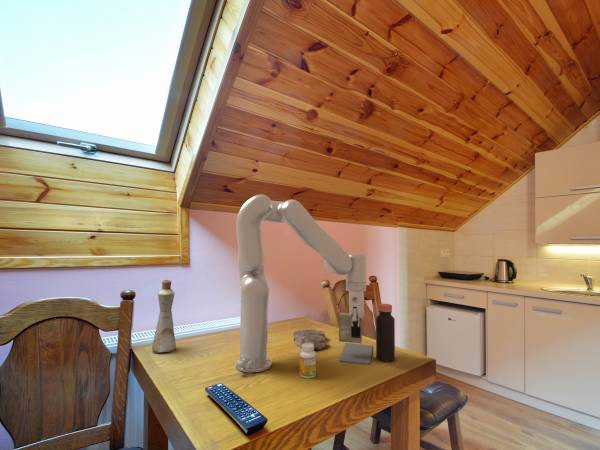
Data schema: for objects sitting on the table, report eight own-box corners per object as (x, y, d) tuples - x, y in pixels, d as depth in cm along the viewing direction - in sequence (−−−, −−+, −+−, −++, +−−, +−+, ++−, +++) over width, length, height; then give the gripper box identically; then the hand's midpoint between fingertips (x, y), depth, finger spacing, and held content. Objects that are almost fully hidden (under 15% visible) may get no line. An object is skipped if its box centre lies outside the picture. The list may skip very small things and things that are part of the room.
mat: (370, 365, 110) (370, 363, 110) (339, 361, 113) (339, 360, 113) (372, 346, 130) (372, 345, 130) (345, 344, 133) (345, 342, 133)
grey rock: (330, 352, 123) (323, 336, 143) (330, 340, 124) (323, 325, 144) (294, 354, 123) (293, 337, 143) (294, 341, 123) (292, 326, 143)
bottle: (151, 355, 117) (153, 281, 119) (152, 348, 126) (154, 278, 127) (176, 352, 121) (178, 280, 122) (175, 345, 129) (177, 277, 131)
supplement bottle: (299, 371, 105) (299, 342, 105) (315, 371, 105) (315, 342, 105) (299, 378, 99) (299, 347, 100) (316, 378, 99) (316, 347, 100)
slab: (360, 343, 115) (360, 315, 115) (339, 341, 117) (339, 314, 117) (361, 339, 119) (361, 313, 119) (340, 338, 121) (340, 311, 121)
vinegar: (378, 354, 121) (378, 302, 122) (396, 357, 118) (396, 304, 119) (374, 360, 115) (374, 305, 116) (393, 363, 112) (392, 307, 113)
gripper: (364, 290, 109) (365, 343, 108) (367, 283, 125) (367, 329, 124) (343, 289, 111) (343, 341, 110) (348, 283, 127) (348, 328, 126)
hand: (356, 334), depth 117 cm, fingers closed on slab, 4 cm apart
